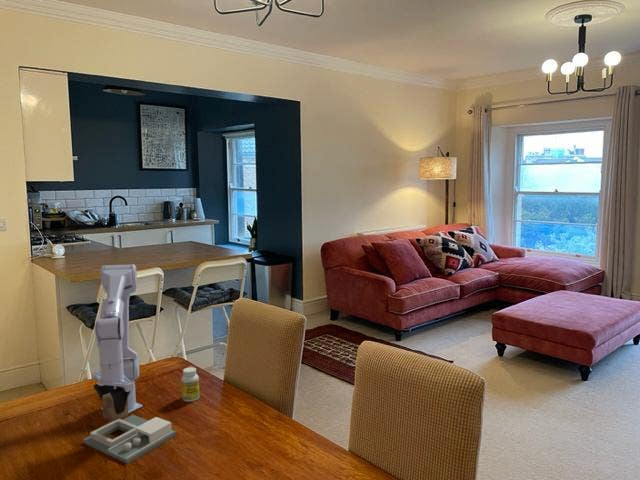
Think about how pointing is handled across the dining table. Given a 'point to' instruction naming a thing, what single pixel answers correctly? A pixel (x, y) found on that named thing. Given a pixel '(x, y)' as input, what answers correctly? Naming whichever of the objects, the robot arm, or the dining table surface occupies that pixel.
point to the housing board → (124, 439)
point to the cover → (154, 429)
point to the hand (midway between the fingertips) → (114, 410)
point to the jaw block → (112, 408)
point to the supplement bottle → (190, 384)
